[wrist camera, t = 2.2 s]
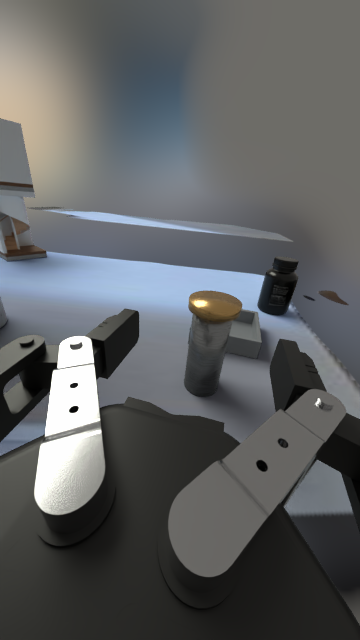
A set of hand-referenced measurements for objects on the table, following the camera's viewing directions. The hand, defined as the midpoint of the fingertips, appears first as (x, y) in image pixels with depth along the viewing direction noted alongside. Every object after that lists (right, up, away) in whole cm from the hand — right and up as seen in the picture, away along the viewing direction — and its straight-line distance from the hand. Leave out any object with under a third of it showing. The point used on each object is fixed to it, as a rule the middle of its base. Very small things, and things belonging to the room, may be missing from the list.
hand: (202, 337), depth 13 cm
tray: (+7, -2, +28) cm, 29 cm away
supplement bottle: (+21, +3, +40) cm, 45 cm away
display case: (-55, +23, +62) cm, 85 cm away
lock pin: (+1, -7, +17) cm, 18 cm away
